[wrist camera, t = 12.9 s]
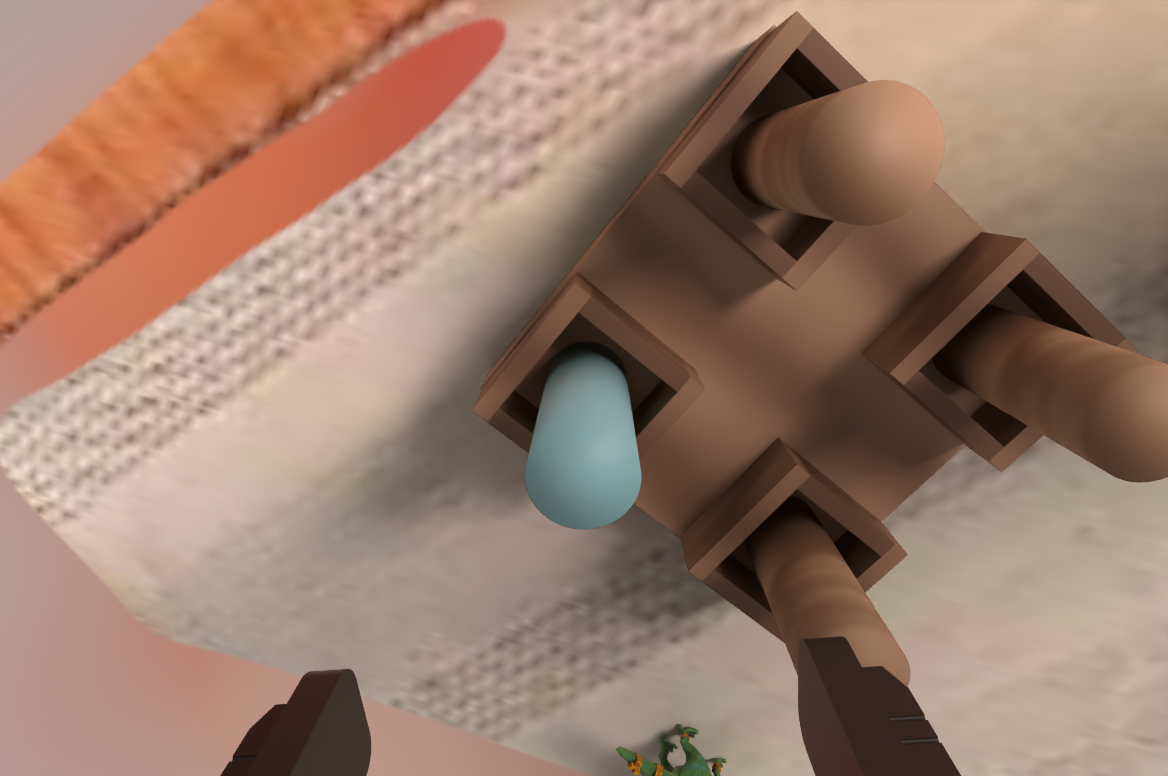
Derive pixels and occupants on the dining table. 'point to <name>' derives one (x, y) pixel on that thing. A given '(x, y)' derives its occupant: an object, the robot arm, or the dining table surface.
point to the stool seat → (824, 341)
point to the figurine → (692, 772)
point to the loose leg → (584, 440)
